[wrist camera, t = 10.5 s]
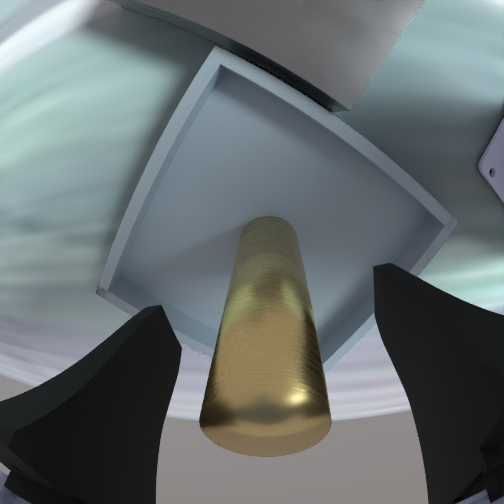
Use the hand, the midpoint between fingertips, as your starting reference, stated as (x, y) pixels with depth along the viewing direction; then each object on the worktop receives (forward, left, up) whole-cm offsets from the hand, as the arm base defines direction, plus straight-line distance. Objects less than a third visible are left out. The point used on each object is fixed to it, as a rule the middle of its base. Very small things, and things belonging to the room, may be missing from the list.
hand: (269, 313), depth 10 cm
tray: (0, 0, -6) cm, 6 cm away
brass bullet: (0, 0, -5) cm, 5 cm away
